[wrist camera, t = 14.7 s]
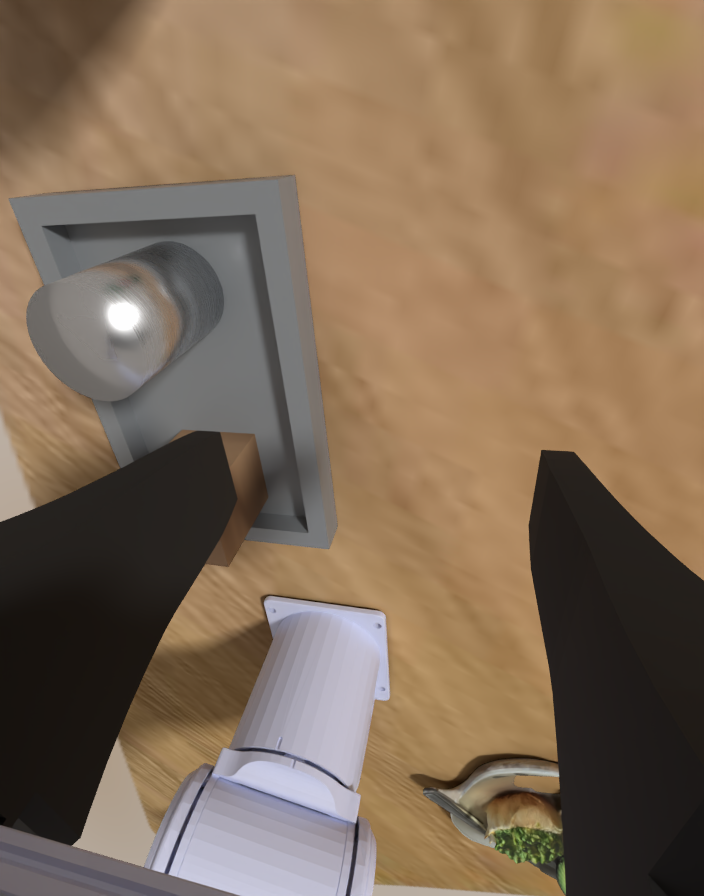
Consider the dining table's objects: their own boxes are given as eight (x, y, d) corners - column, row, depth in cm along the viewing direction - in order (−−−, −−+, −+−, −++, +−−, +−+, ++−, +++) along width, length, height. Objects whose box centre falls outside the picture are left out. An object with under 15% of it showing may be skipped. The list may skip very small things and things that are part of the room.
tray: (337, 526, 26) (329, 549, 25) (162, 508, 29) (145, 528, 27) (295, 174, 17) (277, 179, 16) (43, 193, 20) (8, 198, 18)
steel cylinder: (234, 336, 21) (160, 402, 16) (153, 337, 22) (60, 400, 17) (209, 237, 19) (115, 279, 14) (121, 244, 19) (3, 285, 15)
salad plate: (399, 800, 45) (392, 861, 41) (466, 715, 35) (464, 786, 31) (600, 872, 44) (611, 941, 40) (731, 806, 34) (762, 891, 30)
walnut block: (268, 497, 26) (228, 566, 22) (201, 491, 26) (151, 557, 22) (254, 433, 23) (207, 497, 19) (182, 429, 24) (122, 490, 20)
